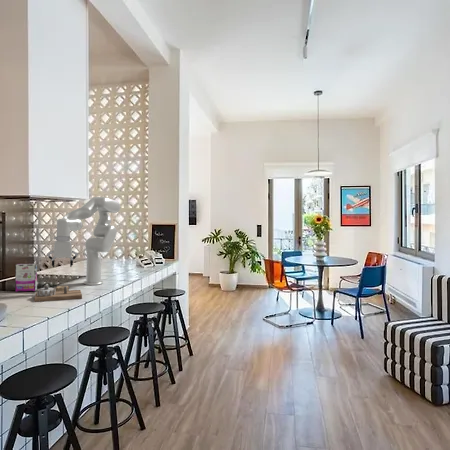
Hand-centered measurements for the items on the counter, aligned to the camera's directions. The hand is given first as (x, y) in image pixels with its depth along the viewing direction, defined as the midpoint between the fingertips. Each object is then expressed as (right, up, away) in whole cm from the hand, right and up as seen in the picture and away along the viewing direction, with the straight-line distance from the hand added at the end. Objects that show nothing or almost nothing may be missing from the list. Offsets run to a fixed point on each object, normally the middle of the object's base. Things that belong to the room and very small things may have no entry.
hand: (62, 266), depth 220 cm
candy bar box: (-22, -15, 0) cm, 27 cm away
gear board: (+4, -16, -13) cm, 21 cm away
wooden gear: (0, -15, +1) cm, 15 cm away
